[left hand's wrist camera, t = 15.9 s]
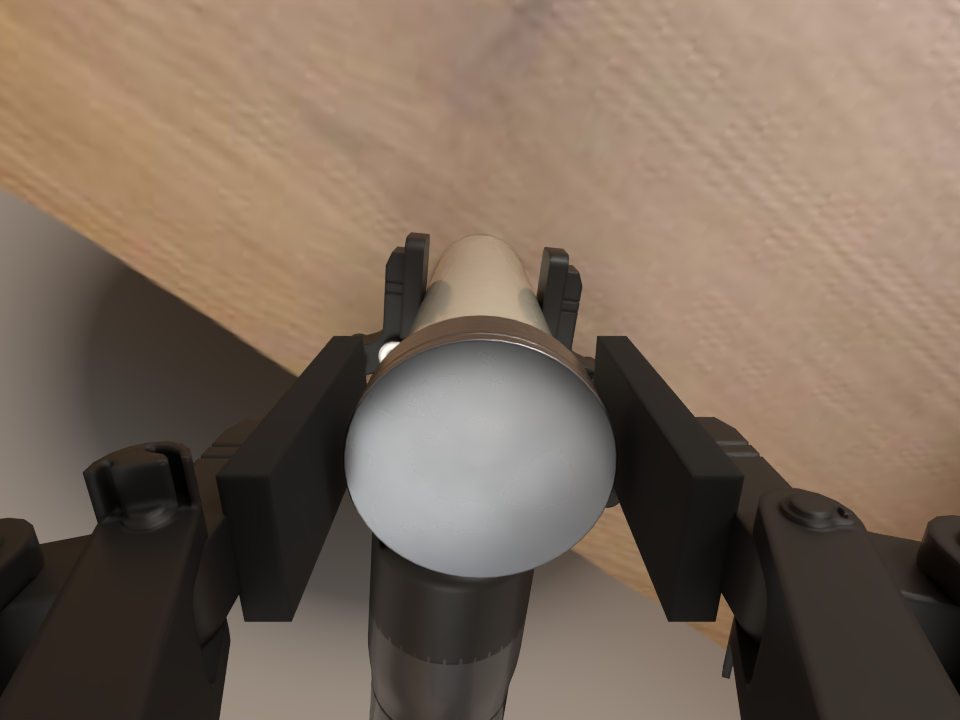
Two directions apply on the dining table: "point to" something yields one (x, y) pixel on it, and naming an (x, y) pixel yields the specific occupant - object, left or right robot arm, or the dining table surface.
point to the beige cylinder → (479, 285)
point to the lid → (480, 448)
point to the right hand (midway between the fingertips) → (486, 245)
